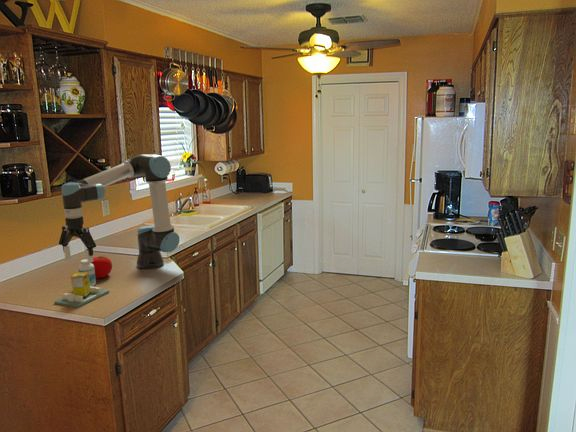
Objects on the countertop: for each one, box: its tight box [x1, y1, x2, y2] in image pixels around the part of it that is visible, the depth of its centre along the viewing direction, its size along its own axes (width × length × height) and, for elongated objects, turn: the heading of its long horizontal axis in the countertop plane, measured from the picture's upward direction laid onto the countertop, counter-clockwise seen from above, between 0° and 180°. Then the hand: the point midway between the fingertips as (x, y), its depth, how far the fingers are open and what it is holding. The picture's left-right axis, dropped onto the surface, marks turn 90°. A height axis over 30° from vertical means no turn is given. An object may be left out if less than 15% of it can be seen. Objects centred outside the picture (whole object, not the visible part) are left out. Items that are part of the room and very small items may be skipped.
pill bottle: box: [77, 258, 97, 287], centre depth 239 cm, size 8×7×14 cm
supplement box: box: [70, 271, 91, 298], centre depth 222 cm, size 6×6×11 cm
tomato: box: [91, 255, 113, 279], centre depth 252 cm, size 12×14×11 cm
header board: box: [54, 285, 110, 309], centre depth 223 cm, size 20×14×5 cm
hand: (79, 260), depth 220 cm, fingers open, 13 cm apart
